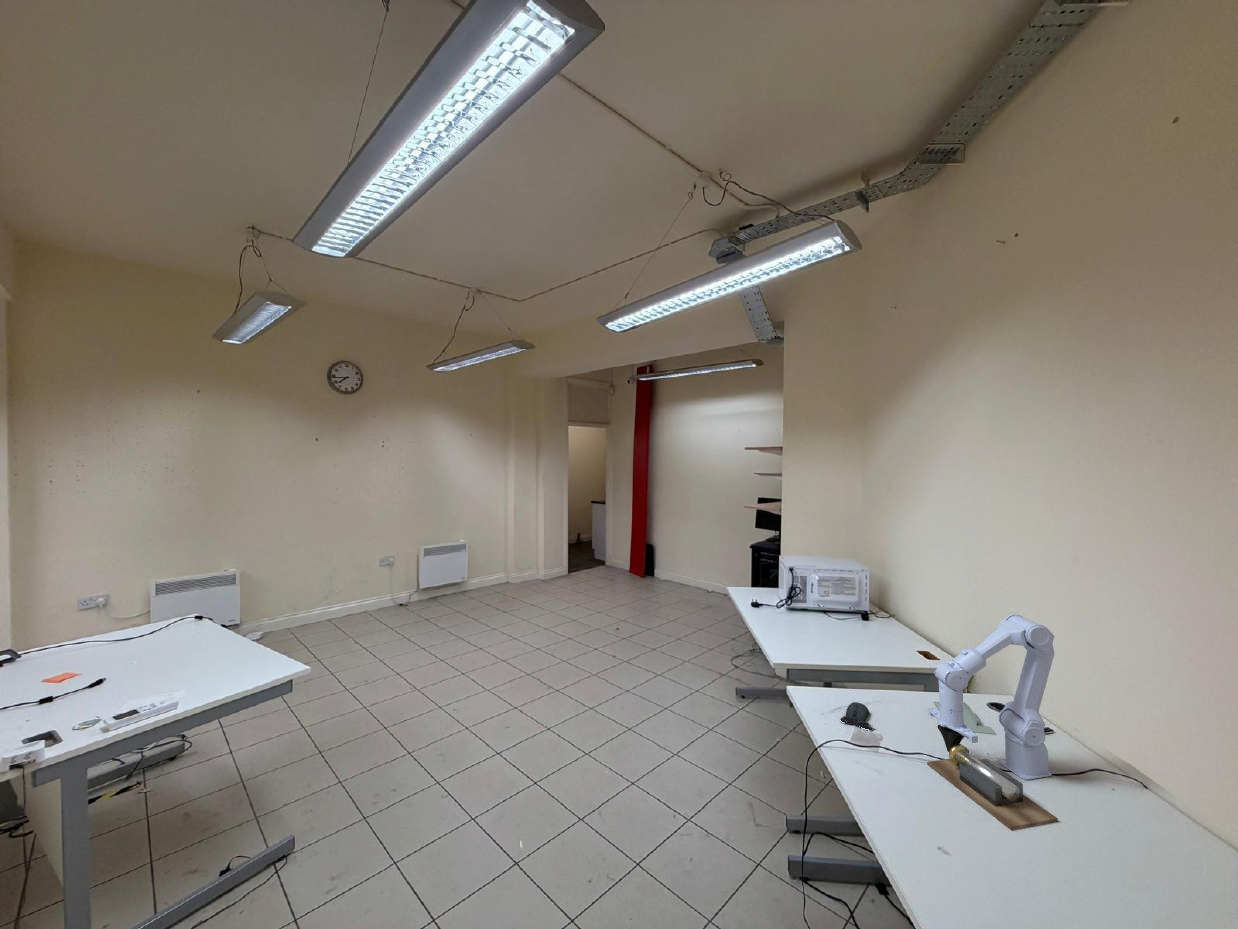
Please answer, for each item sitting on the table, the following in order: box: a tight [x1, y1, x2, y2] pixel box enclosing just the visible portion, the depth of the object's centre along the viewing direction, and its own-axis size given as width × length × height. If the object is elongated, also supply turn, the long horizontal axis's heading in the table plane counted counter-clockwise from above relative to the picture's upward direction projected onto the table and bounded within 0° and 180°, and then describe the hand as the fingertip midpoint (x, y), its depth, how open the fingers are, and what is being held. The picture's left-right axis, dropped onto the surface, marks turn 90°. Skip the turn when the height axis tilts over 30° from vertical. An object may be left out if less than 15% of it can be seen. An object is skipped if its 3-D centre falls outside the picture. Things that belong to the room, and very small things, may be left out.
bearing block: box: [959, 758, 1024, 807], centre depth 120 cm, size 9×10×5 cm
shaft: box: [948, 743, 1020, 801], centre depth 122 cm, size 6×16×6 cm, turn 10°
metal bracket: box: [932, 701, 996, 736], centre depth 153 cm, size 14×6×15 cm
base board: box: [926, 758, 1059, 831], centre depth 121 cm, size 14×24×1 cm, turn 10°
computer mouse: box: [839, 701, 874, 731], centre depth 156 cm, size 10×15×4 cm
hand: (952, 752), depth 131 cm, fingers closed
